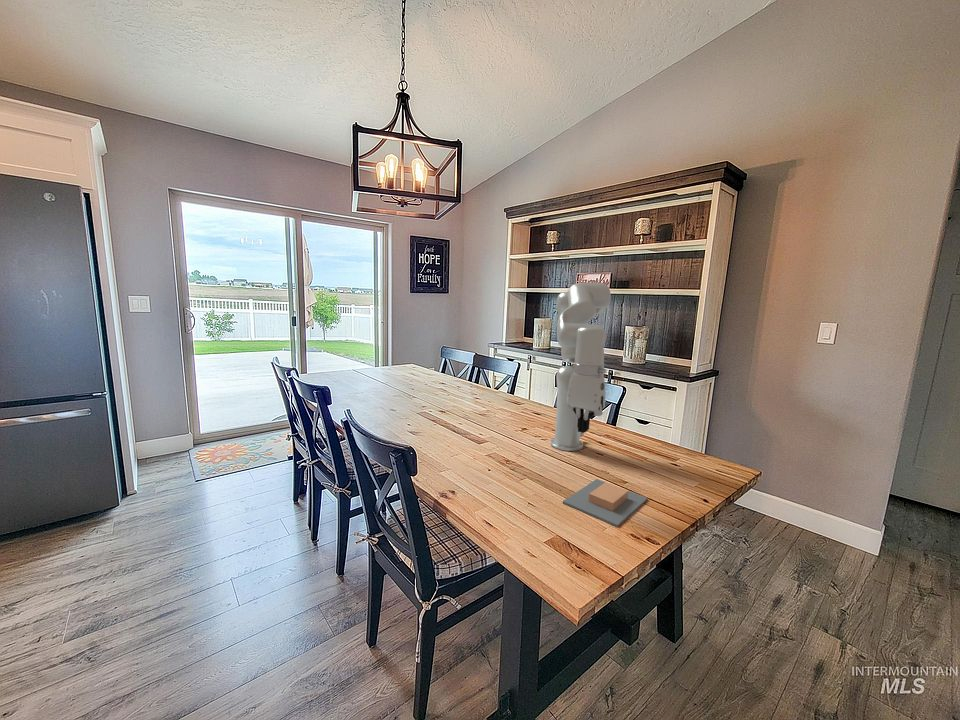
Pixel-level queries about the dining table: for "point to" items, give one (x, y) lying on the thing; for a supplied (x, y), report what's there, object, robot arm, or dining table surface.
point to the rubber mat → (612, 517)
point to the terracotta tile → (608, 496)
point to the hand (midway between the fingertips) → (582, 431)
